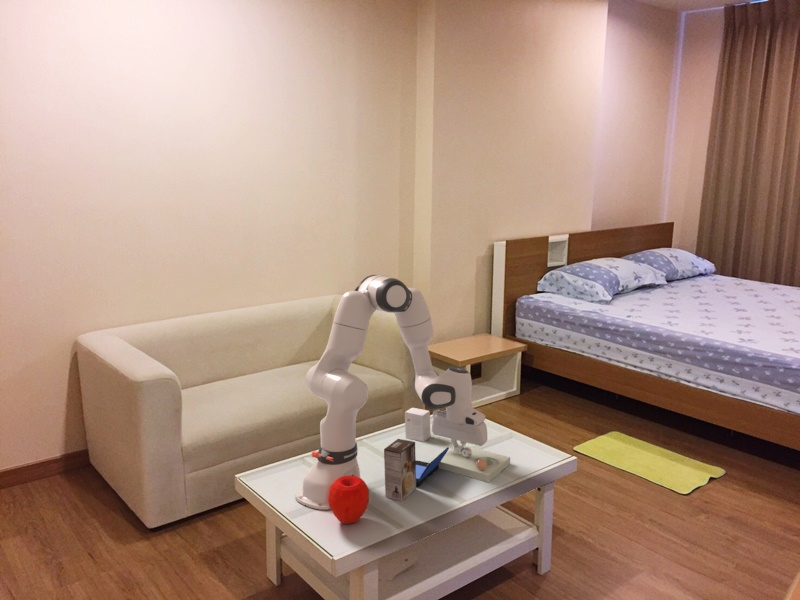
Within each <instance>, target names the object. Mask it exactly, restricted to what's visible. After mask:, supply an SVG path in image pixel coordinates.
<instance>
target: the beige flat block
mask: <svg viewBox="0 0 800 600" xmlns="http://www.w3.org/2000/svg"><path fill="white" fill-rule="evenodd" d="M458 445H460V446H461V445H462V444H461V443H459V444H458ZM465 447H469V448H470V449H471V450H472V455H471V456H470V457H468V458H466V457H464V456H463V455H462V453H461V452H457V451H454V447H453V448H452V449H450V450H448V451H447V453H446V454H445V456H444V457H443V459H442V460H441V461H440V463H439V468H438V470H439V469H440V470H444V471H448V472H450V473H454V474H458V475H461V476H464V477H468V478H471V479H476V480H479V481H482V482H486V483H490V482H491V481H492V480H494V479H495V478H496V477H498V475H499V474H500V473H502V472H503V471H504V470H505V469H507V467H508V466H509V465H511V457H510V456H507V455H504V454H499V453H496V452H493V451H492V452H491V451H487V450H484V449H480V448H476V447H472V446H468V445H465V446H464V448H465ZM479 459H484V460H485V461H486V463H487V467H486V468H485V469H484V470H480V469H478V468H477V466H476V462H477V461H478V460H479ZM504 468H505V469H504ZM503 469H504V470H503ZM502 470H503V471H502ZM501 471H502V472H501Z"/></svg>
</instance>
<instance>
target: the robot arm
mask: <svg viewBox="0 0 800 600" xmlns="http://www.w3.org/2000/svg"><path fill="white" fill-rule="evenodd" d="M376 311H380V312H386V313H394V316H395V317H396V323H397V326H398V331H399V332H400V336H401V338H402V340H403V343H404V344H405V345H406V347H407V349H408V350H409V353H410V357H411V361H412V366H413V369H414V370H413V371H414V374H413V380H412V385H413V386H412V387H413V390H414V392H415V394H417V395H418V397H419V398H420V400H421V402H422V404H423V405H424V406H425V407H426V408H428V409H431V410H433V411H432V422H431V423H432V424H431V432H432V434H433V435H434V436H439V437H443V438H446V439H450V441H451V442H450V443H451V444H452V446H453V448H454V451H457V452H461V453H462V450H463V448H464V446H467V445H466V444H471V445H475V446H479V447H482V446H483V445H485V444H486V443H487V442H488V427H487V424H486V422H485V421H486V415H485V413H482V412H481V411H479V410H477V409H475V408H474V407H473V404H472V395H473V383H472V375H471V373H470V372H469V370H467V369H466V368H464V367H461V366H449V367H448V368H447V370H445V371H444V372H443V373H441V374H438V372H436V370H435V369H434V367H433V364H432V359H431V356H430V351H429V343H430V342H431V341H432V339H433V338H434V328H433V327H434V326H433V321H432V318H431V314H430V310H429V308H428V305H427V301H426V300H425V298H424V296H423V293H422V292H421V291H420V290H419V289H418V288H414V287H407V285H406V284H405V283H404V282H402V281H401V280H399V279H398V278H394V277H393V278H392V277H390V276H387V275H381V274H379V275H378V274H371V275H369V276H366V277H364V278H363V279H362V280H361V281H360V283H358V285H357V287H356V288H355V289H354V290H348V291H346V292H344V294H342V296H341V298H340V300H339V303H338V305H337V309H336V310H335V313H334V316H333V320H332V325H331V329H330V334H329V336H328V340H327V344H326V347H325V350H324V351H323V353H322V355H321V357H320V359H319V361H318V362H317V363H316V364H314V365H313V366H311V367H310V368H309V370H308V371H307V373H306V375H305V386H306V388H307V389H308V390H309V392H310V393H311V394H312V395H314V396H315V397H317V398H318V399H320V400H322V401H324V402H326V404H327V412H326V416H324V417H322V419H321V420H320V423H319V430H320V431H319V432H320V434H319V436H320V445H319V447H318V451H316V450H313V451H312V452H311V457H312V458H315V459H316V460H315V461H314V463H313V465H312V466H311V468H310V469H309V470H308V472H307V473H306V475H305V476H304V478H303V481H302V489H300V490H299V491H298V492H297V493H296V494H294V495H295V497H294V498H296V499H295V500H296V501H297V502H298V503H299V504H301V505H303V506H305V505H306V507H309V508H312V509H314V510H321V511H322V510H323V511H324V510H325V511H327V510H331V508H330V506H329V503H328V494H329V489H330V487H331V485H332V484H333V482H334V481H335V480H336V479H338V478H340V477H343V476H356V477H359V478H361V471H360V465H359V463H358V459H357V456H358V443H357V441H356V440H357V439H356V421H357V417H358V416H357V415H358V413H359V411H360V409H361V408H363V407H364V406H365V404H366V403H367V401H368V399H369V388H368V385H367V383H365V382H364V381H363V380H362V379H361V378H360V377H359V376H357V375H356V374H353V373H352V372H348V371H349V368H350V367H351V365H352V362H354V360H355V359H357V358H359V357H360V356H361V355H362V354H363V351H364V346H365V342H366V339H367V338H366V337H367V333H368V328H369V325H370V320H371V317H372V315H373V314H374V313H375V312H376ZM444 408H445V409H444ZM458 441H460V442H459V444H461V446H460V445H459V444H458ZM361 479H362V478H361Z"/></svg>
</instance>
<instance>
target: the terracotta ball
mask: <svg viewBox="0 0 800 600" xmlns="http://www.w3.org/2000/svg"><path fill="white" fill-rule="evenodd" d="M476 466H477V468H478V469H480V470H484V469H485V468H486V467H487V463H486V461H485V460H484V459H479V460H478V461H477V462H476Z"/></svg>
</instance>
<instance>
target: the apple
mask: <svg viewBox="0 0 800 600" xmlns="http://www.w3.org/2000/svg"><path fill="white" fill-rule="evenodd" d="M369 498H370V493H369V488H368V485H367V483H366V482H365V480H363V479H362V478H359V477H356V476H343V477H340V478H338V479H336V480H335V481H334V482H333V484H332V485H331V487H330V489H329V494H328V503H329V506H330V508H331V509H330V510H331V511H332V513H333V515H334V517H335V518H336V519H337V520H338V522H340V523H342V524H345V525H346V524H354V523H357V522H358V521H359V520H361V518H362V516H363V515H364V514H365V512H366V510H367V508H368V506H369V501H370V499H369Z"/></svg>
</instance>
